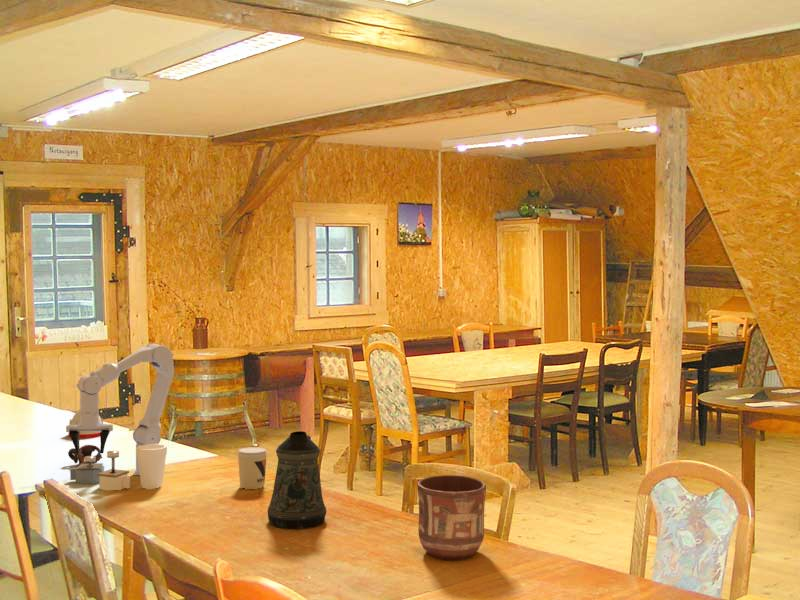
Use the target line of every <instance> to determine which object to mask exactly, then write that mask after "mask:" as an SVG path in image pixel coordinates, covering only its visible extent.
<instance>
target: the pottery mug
mask: <svg viewBox="0 0 800 600" xmlns="http://www.w3.org/2000/svg"><path fill="white" fill-rule="evenodd" d="M79 448H80V453H79V454H76V450H75V447H73V448H70V449H69V450H68V452H67V455H68V457H69V459H71V460H72V461H73V462H74V464H77V463H79V465H80V464H88V463H84V457H86V456H92V454H93V452H95V451H96V452H97V454H96V455H94V456H95V457H96V462H94V463H91V464H97V463H98V462H100V460H101V459H103V456H102V453H100V447H98V446H97V445H94V444H85V445H82V446H81V447H79Z"/></svg>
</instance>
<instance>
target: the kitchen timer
mask: <svg viewBox="0 0 800 600" xmlns="http://www.w3.org/2000/svg"><path fill="white" fill-rule="evenodd" d="M103 419H104V418H102V417H101V416H100V415H99V424H104V420H103ZM79 424H81V423H80V408H79V409H78V410H77V411H76V412H75V413H74V415H73V417H72V418H70V419H69V423H68V425H79ZM100 432H102V431H80V433H79V439H92V438H93V439H94V438H100ZM69 434H70V432H68V437H69V438H70V436H69Z"/></svg>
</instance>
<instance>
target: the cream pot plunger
mask: <svg viewBox="0 0 800 600" xmlns="http://www.w3.org/2000/svg"><path fill="white" fill-rule="evenodd" d="M106 456H107V457H106V458H108V459H111V469H112V473H115V469H116V467H115V466H116V465H115V464H116V463H115V459H116V458H119V457H120V451H119V450H109V451H107V452H106Z"/></svg>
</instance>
